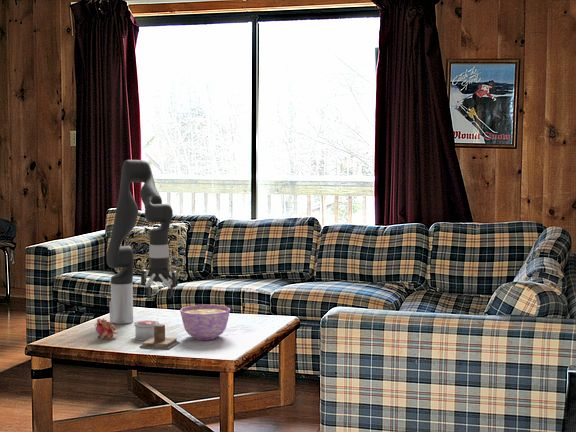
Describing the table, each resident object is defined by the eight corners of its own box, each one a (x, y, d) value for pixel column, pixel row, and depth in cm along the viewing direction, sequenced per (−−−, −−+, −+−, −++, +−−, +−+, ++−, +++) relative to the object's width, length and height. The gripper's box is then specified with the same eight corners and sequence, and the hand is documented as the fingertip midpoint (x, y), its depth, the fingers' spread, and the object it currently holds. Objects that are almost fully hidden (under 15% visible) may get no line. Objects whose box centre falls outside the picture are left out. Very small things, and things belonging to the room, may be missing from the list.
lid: (142, 345, 319) (142, 327, 319) (152, 340, 329) (152, 321, 328) (167, 347, 317) (166, 328, 316) (176, 341, 327) (176, 323, 326)
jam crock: (130, 339, 332) (130, 324, 332) (140, 334, 342) (140, 319, 341) (153, 340, 330) (153, 325, 330) (162, 335, 340) (162, 320, 339)
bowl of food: (174, 334, 341) (174, 306, 340) (221, 330, 349) (220, 303, 348) (188, 345, 322) (188, 315, 321) (237, 340, 330) (237, 311, 329)
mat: (139, 347, 319) (139, 346, 319) (150, 341, 330) (150, 339, 330) (169, 349, 316) (169, 347, 316) (179, 342, 327) (179, 341, 327)
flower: (92, 338, 328) (104, 321, 328) (86, 328, 335) (98, 312, 336) (111, 348, 333) (123, 332, 333) (105, 339, 340) (117, 323, 341)
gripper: (137, 256, 320) (138, 298, 322) (172, 258, 317) (172, 300, 319) (145, 253, 328) (146, 294, 329) (179, 255, 324) (180, 296, 326)
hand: (159, 297), depth 324 cm, fingers open, 8 cm apart
